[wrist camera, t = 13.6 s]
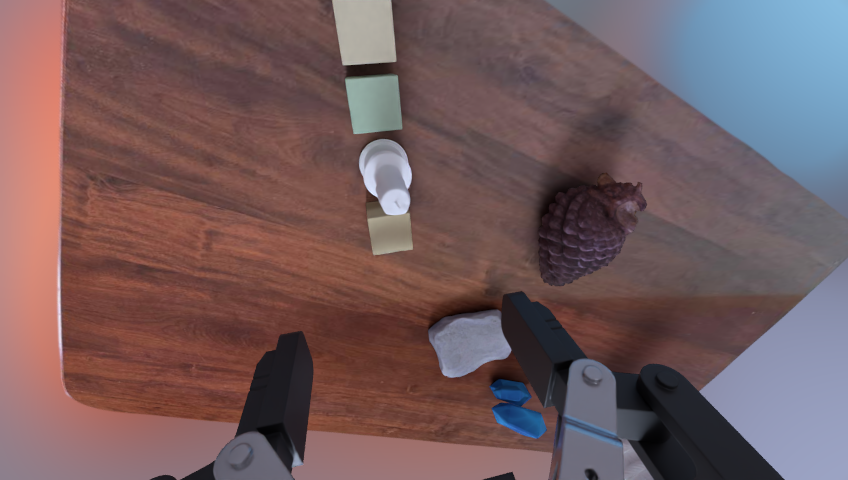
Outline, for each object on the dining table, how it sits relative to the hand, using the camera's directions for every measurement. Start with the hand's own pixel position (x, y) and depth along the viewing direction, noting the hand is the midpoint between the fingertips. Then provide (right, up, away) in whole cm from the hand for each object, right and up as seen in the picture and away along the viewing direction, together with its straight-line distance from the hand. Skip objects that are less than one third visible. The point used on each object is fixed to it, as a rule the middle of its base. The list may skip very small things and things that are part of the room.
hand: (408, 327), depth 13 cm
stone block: (+7, -11, +38) cm, 40 cm away
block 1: (-5, +22, +17) cm, 28 cm away
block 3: (-4, +6, +26) cm, 27 cm away
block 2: (-5, +17, +19) cm, 27 cm away
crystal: (+16, -23, +47) cm, 55 cm away
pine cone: (+19, +6, +31) cm, 37 cm away
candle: (-4, +12, +23) cm, 26 cm away
